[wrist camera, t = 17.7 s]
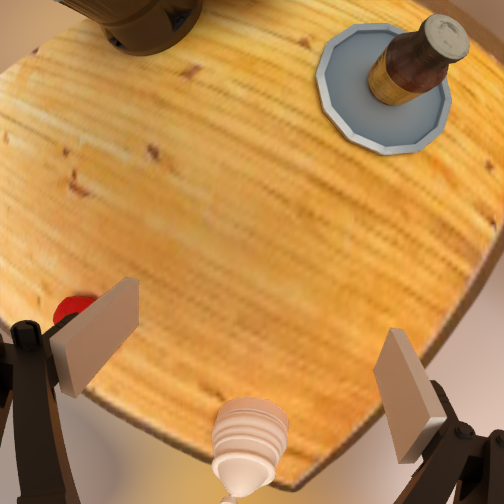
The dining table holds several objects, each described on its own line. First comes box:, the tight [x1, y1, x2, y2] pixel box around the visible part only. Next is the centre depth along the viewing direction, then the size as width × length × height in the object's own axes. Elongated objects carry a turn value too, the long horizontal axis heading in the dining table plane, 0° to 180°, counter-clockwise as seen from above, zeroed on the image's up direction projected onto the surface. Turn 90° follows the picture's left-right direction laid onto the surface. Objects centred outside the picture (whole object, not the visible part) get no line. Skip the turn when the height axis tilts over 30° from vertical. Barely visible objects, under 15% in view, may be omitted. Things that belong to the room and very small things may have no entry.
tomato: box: [53, 296, 95, 325], centre depth 47 cm, size 9×10×8 cm
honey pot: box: [211, 397, 289, 504], centre depth 44 cm, size 13×13×18 cm
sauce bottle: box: [368, 14, 469, 105], centre depth 26 cm, size 6×6×20 cm
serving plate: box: [315, 23, 452, 155], centre depth 35 cm, size 18×18×2 cm
